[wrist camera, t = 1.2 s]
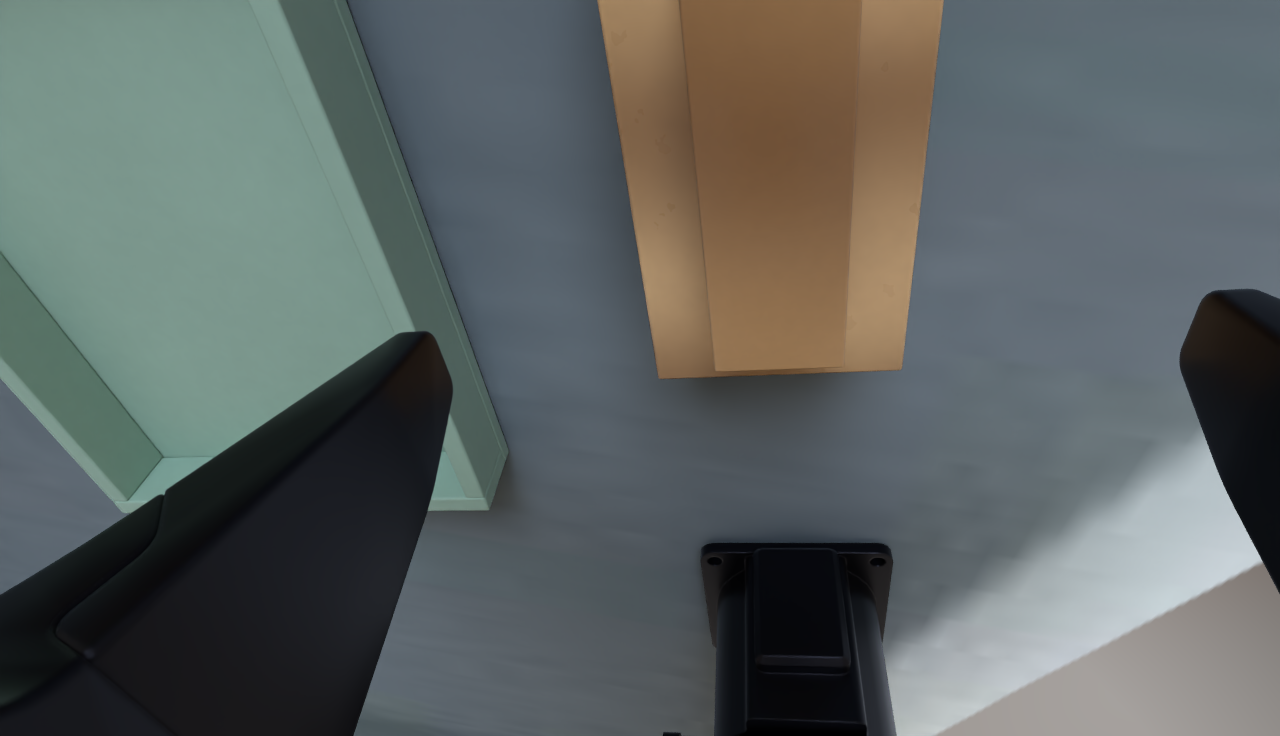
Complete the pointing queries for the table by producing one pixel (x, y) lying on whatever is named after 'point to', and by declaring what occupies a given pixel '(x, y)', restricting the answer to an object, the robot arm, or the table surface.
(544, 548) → the table surface
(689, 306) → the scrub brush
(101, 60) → the tray
